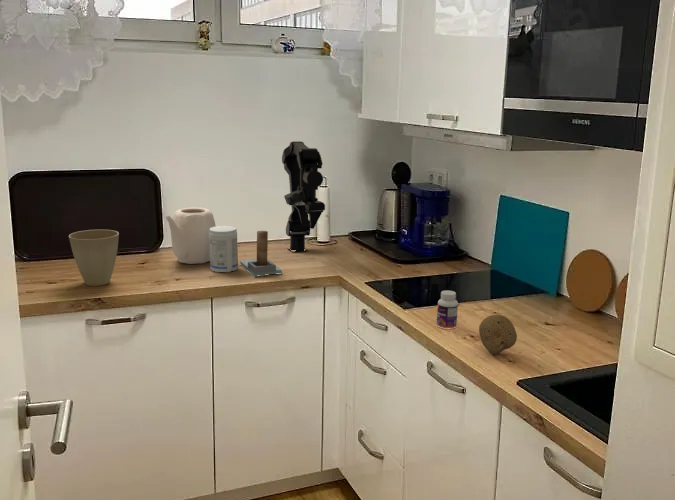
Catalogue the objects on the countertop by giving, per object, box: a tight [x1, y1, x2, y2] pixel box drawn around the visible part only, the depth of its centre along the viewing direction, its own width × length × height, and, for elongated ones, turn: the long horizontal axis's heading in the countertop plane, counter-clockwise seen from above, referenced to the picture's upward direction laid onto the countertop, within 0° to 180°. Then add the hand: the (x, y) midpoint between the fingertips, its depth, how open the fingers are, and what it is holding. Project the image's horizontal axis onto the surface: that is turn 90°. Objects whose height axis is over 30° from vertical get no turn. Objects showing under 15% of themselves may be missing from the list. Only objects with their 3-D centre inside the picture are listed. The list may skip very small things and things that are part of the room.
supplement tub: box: [209, 225, 239, 273], centre depth 235 cm, size 10×10×15 cm
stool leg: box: [256, 230, 269, 266], centre depth 231 cm, size 4×4×13 cm
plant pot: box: [68, 229, 120, 287], centre depth 216 cm, size 15×15×16 cm
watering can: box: [165, 207, 217, 265], centre depth 244 cm, size 16×27×19 cm, turn 154°
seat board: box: [239, 258, 283, 277], centre depth 237 cm, size 17×10×4 cm, turn 24°
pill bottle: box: [436, 290, 459, 329], centre depth 185 cm, size 5×5×10 cm
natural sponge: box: [478, 314, 518, 355], centre depth 167 cm, size 9×9×10 cm
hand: (307, 226), depth 248 cm, fingers open, 9 cm apart
